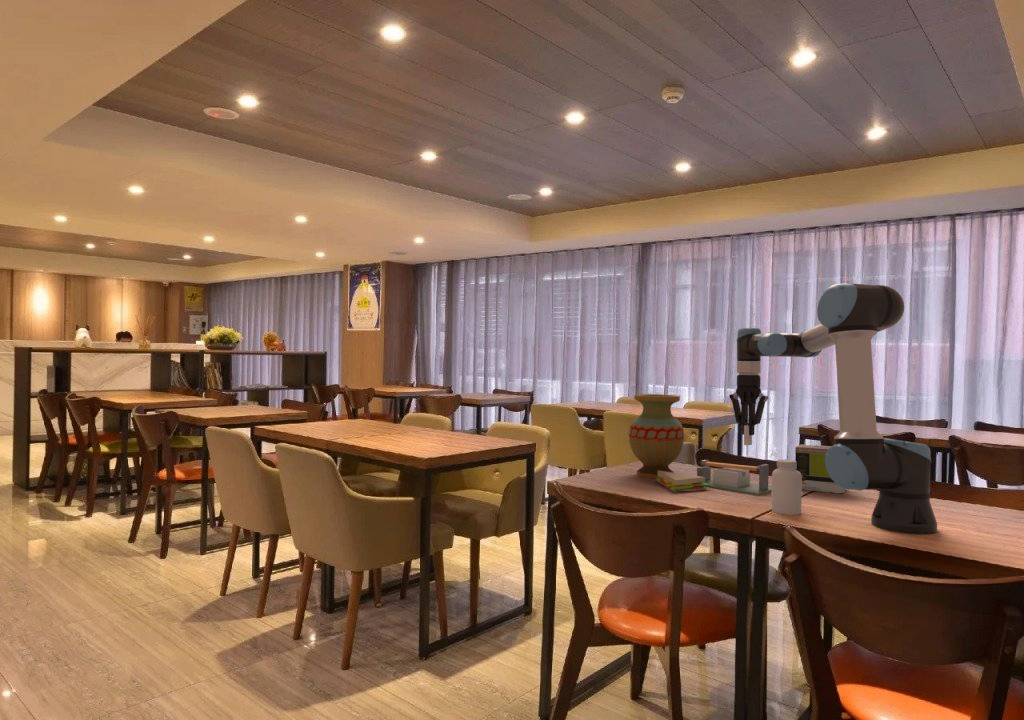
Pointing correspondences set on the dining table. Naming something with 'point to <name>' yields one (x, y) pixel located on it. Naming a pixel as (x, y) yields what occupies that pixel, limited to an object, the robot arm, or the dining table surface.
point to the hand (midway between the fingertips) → (747, 444)
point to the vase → (656, 434)
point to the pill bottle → (786, 488)
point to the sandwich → (681, 481)
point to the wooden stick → (726, 465)
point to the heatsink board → (741, 489)
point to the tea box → (815, 469)
